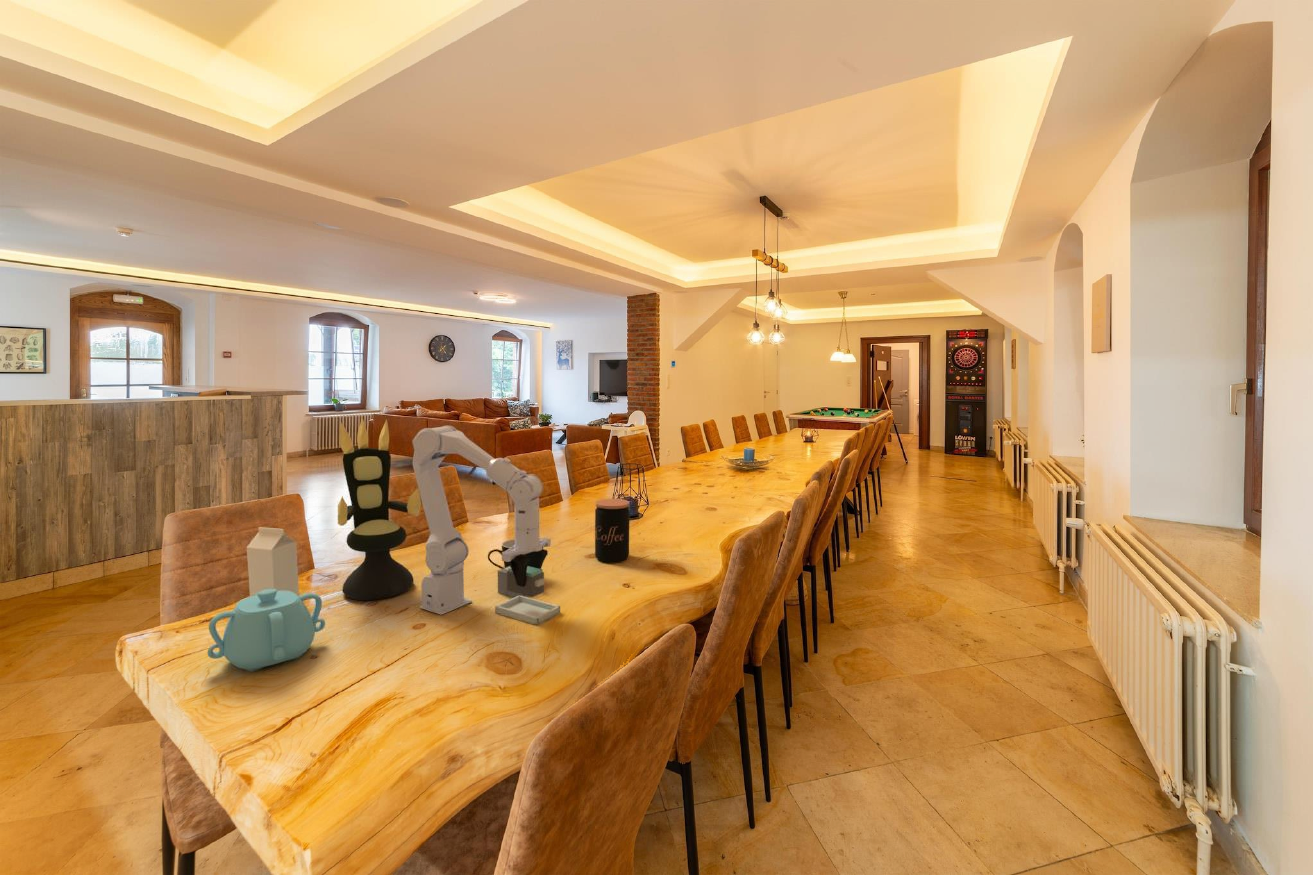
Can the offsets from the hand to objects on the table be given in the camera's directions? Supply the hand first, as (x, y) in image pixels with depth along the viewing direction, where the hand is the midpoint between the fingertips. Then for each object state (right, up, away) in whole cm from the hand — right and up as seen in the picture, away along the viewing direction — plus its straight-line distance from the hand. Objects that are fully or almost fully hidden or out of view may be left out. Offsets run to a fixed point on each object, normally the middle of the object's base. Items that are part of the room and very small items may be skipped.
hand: (527, 582), depth 134 cm
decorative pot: (-46, -9, -22) cm, 52 cm away
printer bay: (-5, -6, +13) cm, 16 cm away
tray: (0, -7, +1) cm, 8 cm away
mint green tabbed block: (-1, -2, +1) cm, 2 cm away
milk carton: (-63, -6, +4) cm, 63 cm away
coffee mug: (-10, -5, +24) cm, 26 cm away
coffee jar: (+17, -4, +42) cm, 46 cm away
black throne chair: (-44, -6, +15) cm, 47 cm away
